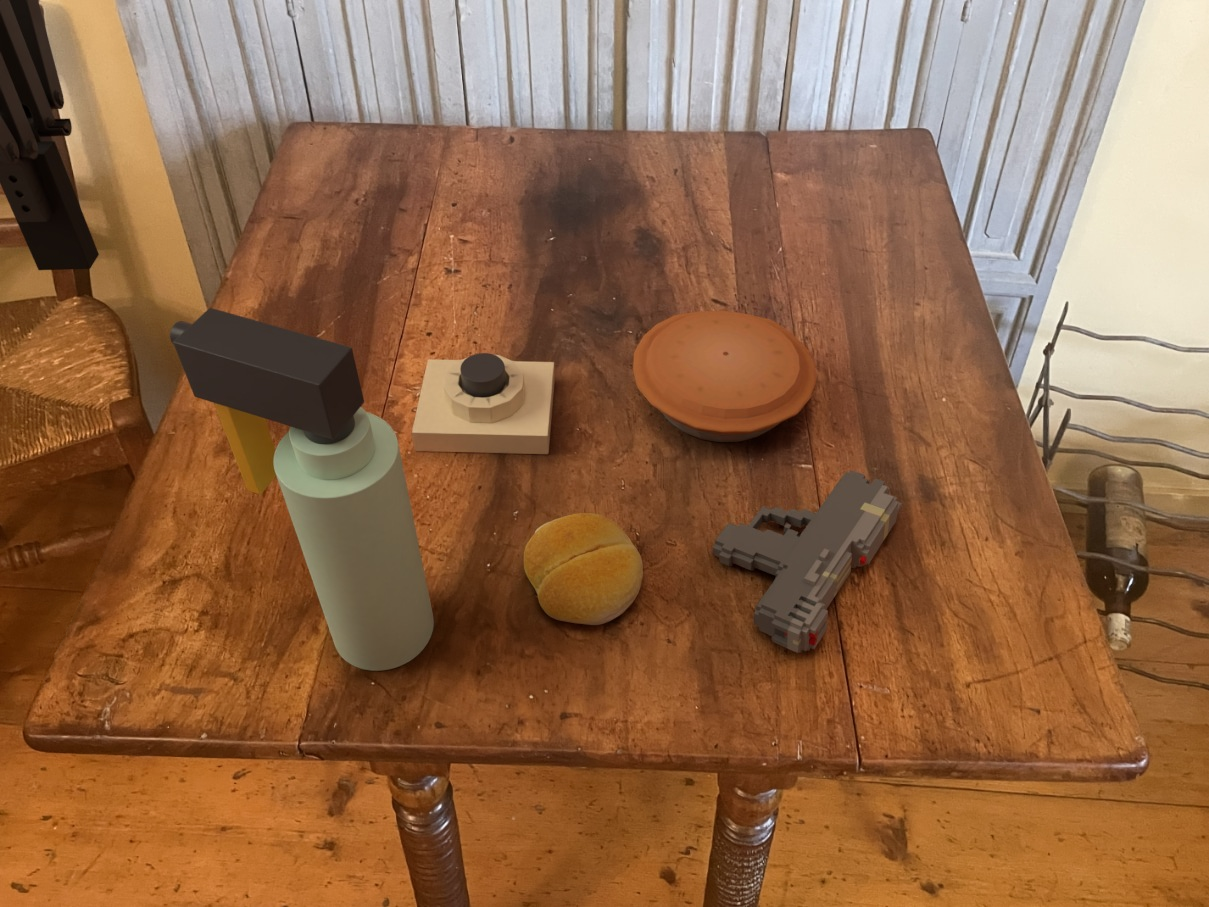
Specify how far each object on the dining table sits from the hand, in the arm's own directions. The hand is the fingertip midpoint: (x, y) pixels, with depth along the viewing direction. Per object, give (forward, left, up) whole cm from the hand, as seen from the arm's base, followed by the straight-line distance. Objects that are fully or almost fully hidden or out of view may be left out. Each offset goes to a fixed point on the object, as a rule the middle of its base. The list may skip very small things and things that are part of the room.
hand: (68, 261), depth 53 cm
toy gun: (+34, -27, -27) cm, 51 cm away
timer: (+25, 0, -27) cm, 37 cm away
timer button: (+25, 0, -23) cm, 34 cm away
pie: (+42, -11, -27) cm, 51 cm away
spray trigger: (+4, -8, -14) cm, 16 cm away
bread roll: (+21, -19, -27) cm, 39 cm away
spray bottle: (+6, -11, -27) cm, 30 cm away
